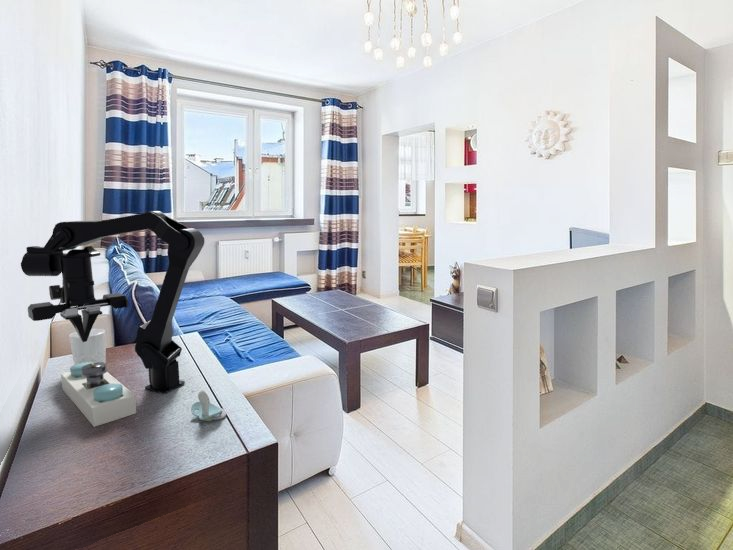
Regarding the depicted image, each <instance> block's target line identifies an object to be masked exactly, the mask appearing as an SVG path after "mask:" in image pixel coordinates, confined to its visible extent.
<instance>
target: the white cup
mask: <svg viewBox="0 0 733 550" xmlns="http://www.w3.org/2000/svg"><path fill="white" fill-rule="evenodd" d="M68 337H69V342H70V343H69V344H70V347H71V348H70V349H71V353H72V354H71V355H72V361H73V363H74V365H76V364H79V363H85V362H95V363H97V362H103V363H106V360H107V359H106V357H107V355H106V354H107V351H106V348H107V347H106V330H105V329H103V328H92V329H91V331H90V334H89V337H88V339H87V341H86V342H82V341H81V339H80V337H79V335H78V333H77V331H76V330H75V331H74V332H72V333H70V334H69V335H68ZM106 364H107V363H106Z"/></svg>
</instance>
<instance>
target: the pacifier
mask: <svg viewBox="0 0 733 550" xmlns="http://www.w3.org/2000/svg"><path fill="white" fill-rule="evenodd" d="M197 395H198V396H197V398H198V401H197V402H194V403H193V404H192V405H191V407H190V411H191V414H192V415H193V416H194V417H197V418H199V420H200V421H201V420H202V421H205V422H211V421H213V420H214V421H217V420H221V419H224V418H225V417H226V416H227V411H226V409H224V408H222V407H220V406H217V405H215V404H213V403H211V401H210V398H209V396H208V394H207V393H206V391H205V390H203V389H201V390H199V392H198V394H197ZM220 413H221V414H220Z"/></svg>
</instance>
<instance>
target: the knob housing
mask: <svg viewBox="0 0 733 550" xmlns="http://www.w3.org/2000/svg"><path fill="white" fill-rule="evenodd" d="M103 376H104V385H107V384H121V385H122V387H123V395H122V396H121V397H119V398H117V399H114V400H111V401H105V402H102V403H100V402H98V401H95V400H94V395H93V391H94V389H96V388H97V387H95V388H91V389H89V388H87V380H86V377H84V376H82V377H77V378H76V377H73V376H71V372H70V370H68V371H65V372H61V373H60V380H61V386H62V387H61V388H62V390H63V392H64V393H65V394H66V396H67V397H68V398H69V399H70V400H71V402H73V403H74V405H75V406H76V407H77V408H78V410H79V411H80V412H81V413H82V414H83V416H84V417H85V418H86V419H87V420H88V422H89V423H90V424H91V425H92V426H93V427H94V428H95V427H98V426H101V425H104V424H107V423H110V422H113V421H117V420H120V419H122V418H125V417H129V416H132V415H136V414H137V404H136V403H137V402H136V394H134V393H133V391H132V392H131V391H130V390H129V389H128V388H127V387H126V386H125V385H123V383H121V382H120V381H119V380H117V379H116V378H115V377H114V376H112V375H111V374H110V373H109V372H108V371H107V372H106V373H104V374H103ZM99 387H100V386H99Z"/></svg>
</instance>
